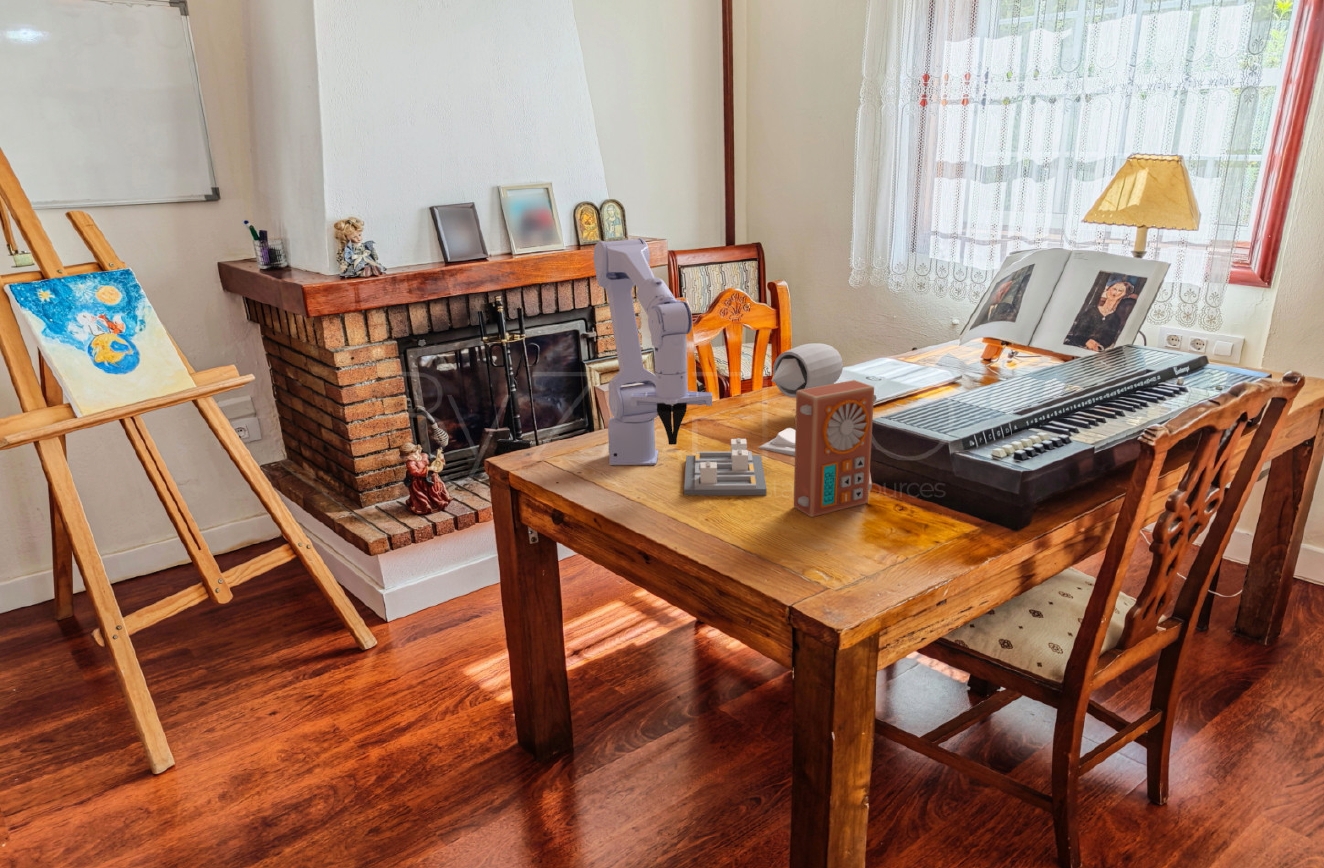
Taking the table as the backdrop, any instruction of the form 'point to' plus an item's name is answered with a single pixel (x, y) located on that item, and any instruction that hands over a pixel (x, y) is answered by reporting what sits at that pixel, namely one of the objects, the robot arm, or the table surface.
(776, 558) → the table surface
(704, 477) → the slider near
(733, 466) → the slider mid
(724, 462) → the switch unit
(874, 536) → the table surface
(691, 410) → the table surface
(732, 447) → the slider far
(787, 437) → the light switch
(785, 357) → the jet engine
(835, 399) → the control panel
